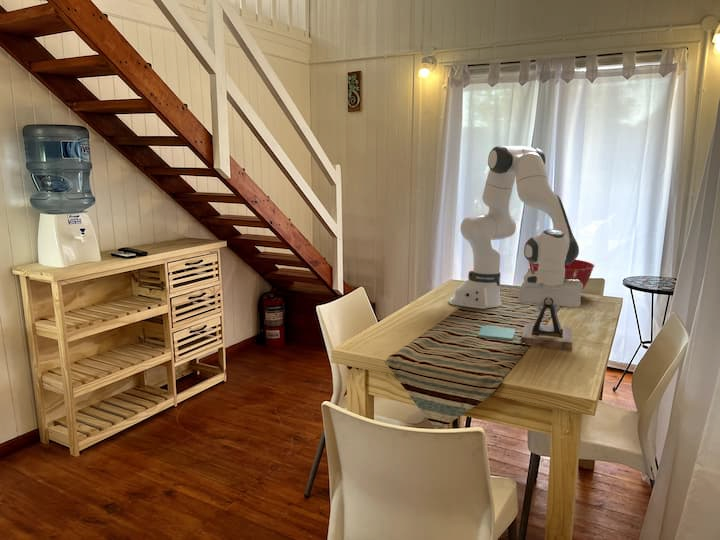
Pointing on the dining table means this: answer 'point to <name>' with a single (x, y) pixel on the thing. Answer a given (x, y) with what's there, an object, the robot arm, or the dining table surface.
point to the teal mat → (497, 332)
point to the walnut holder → (546, 341)
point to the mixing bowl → (573, 270)
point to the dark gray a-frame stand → (556, 324)
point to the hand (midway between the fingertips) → (547, 316)
